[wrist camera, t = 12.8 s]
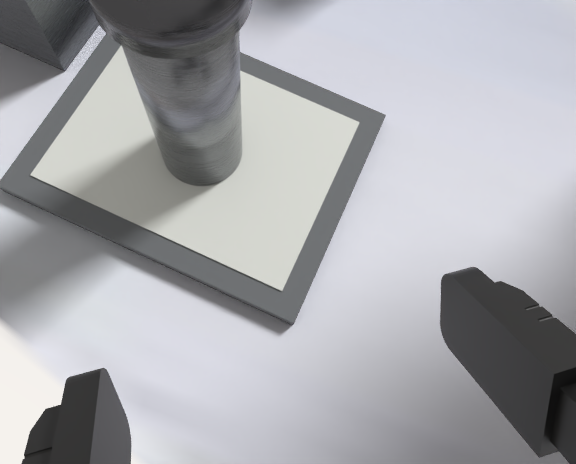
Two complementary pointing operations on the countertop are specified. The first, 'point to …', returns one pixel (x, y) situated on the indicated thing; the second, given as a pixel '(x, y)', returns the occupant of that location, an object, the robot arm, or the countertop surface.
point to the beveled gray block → (47, 28)
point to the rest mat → (204, 199)
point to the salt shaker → (185, 78)
